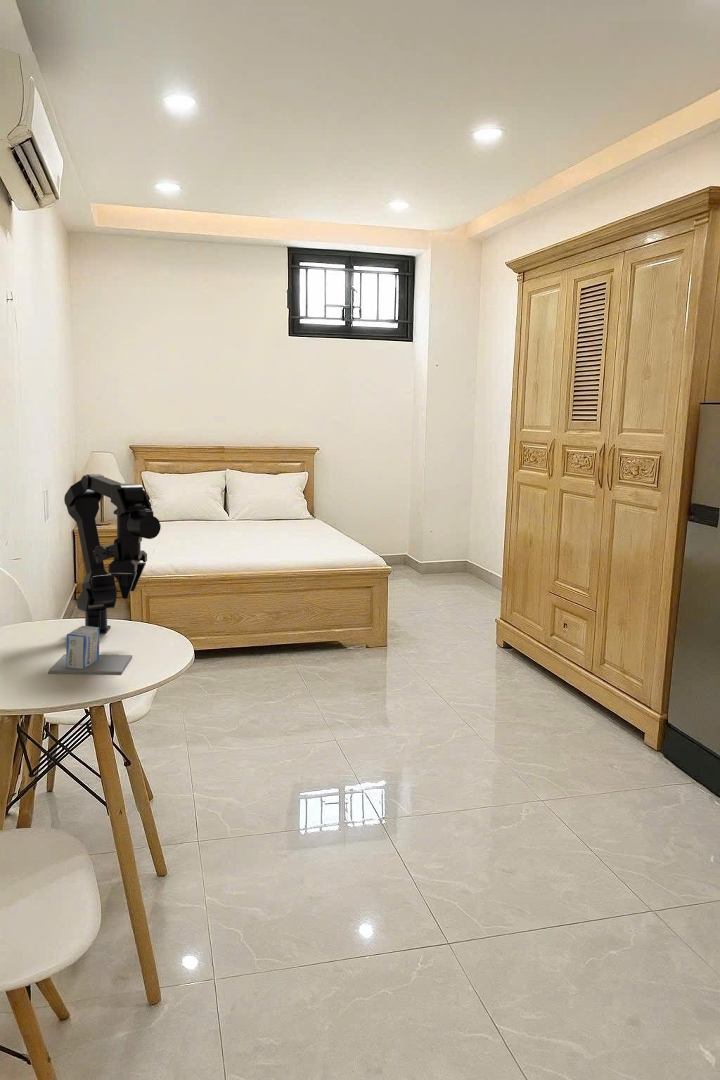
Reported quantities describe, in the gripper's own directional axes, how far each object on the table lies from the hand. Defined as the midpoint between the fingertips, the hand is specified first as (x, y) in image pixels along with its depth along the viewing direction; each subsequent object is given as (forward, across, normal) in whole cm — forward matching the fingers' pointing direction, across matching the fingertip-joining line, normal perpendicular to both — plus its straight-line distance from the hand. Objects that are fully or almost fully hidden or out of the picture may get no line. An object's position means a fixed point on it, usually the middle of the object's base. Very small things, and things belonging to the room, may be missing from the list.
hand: (128, 594), depth 199 cm
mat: (+13, +18, -5) cm, 23 cm away
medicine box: (+8, +14, -6) cm, 18 cm away
